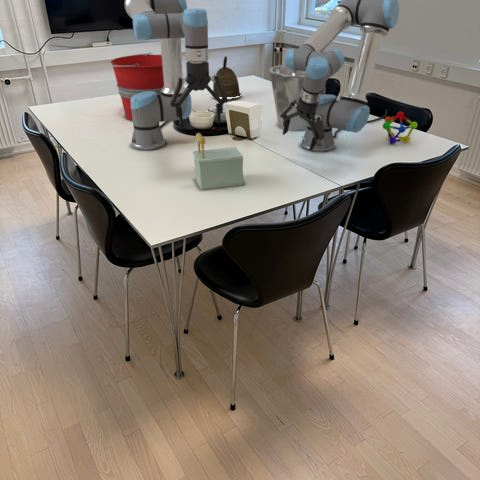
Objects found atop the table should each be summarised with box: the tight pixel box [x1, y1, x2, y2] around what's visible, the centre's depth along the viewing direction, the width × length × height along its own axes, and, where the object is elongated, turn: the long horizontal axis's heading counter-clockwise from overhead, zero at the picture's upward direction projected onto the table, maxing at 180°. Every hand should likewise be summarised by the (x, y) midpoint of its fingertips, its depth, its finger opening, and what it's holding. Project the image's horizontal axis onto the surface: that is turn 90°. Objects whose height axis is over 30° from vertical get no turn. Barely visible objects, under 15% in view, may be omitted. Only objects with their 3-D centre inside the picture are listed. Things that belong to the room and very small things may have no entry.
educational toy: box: [382, 110, 418, 145], centre depth 207 cm, size 16×13×15 cm
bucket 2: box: [269, 64, 328, 131], centre depth 226 cm, size 30×30×28 cm
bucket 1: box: [107, 51, 164, 122], centre depth 239 cm, size 35×35×30 cm
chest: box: [193, 155, 244, 191], centre depth 169 cm, size 16×10×11 cm, turn 107°
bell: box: [212, 56, 242, 97], centre depth 278 cm, size 19×26×20 cm
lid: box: [192, 132, 244, 163], centre depth 164 cm, size 17×10×8 cm, turn 107°
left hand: (200, 124), depth 158 cm, fingers open, 13 cm apart
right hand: (298, 141), depth 184 cm, fingers open, 13 cm apart
